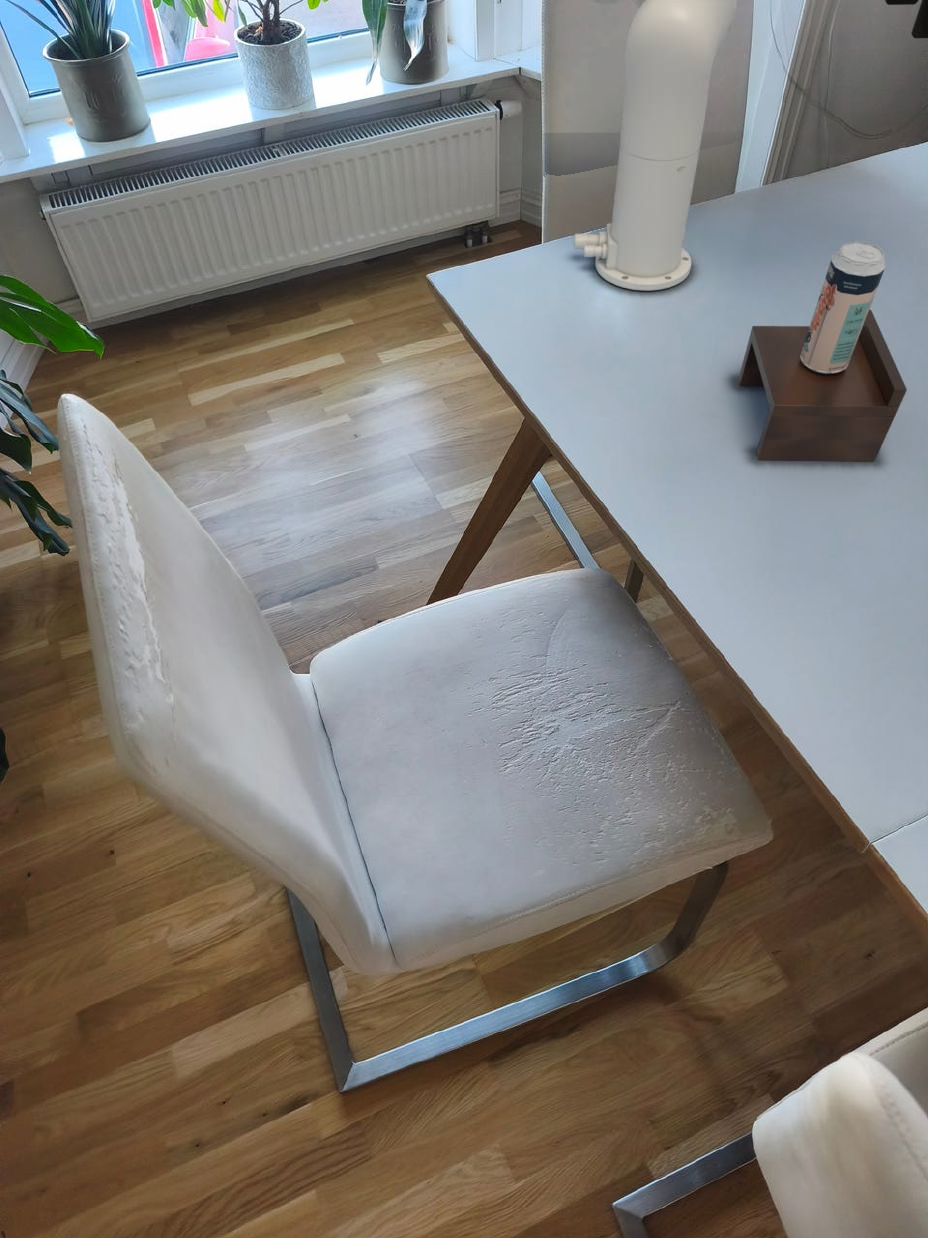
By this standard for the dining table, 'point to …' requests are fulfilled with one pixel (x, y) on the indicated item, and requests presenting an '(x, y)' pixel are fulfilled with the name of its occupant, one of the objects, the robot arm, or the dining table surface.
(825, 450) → the shelf
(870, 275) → the beer can
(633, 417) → the dining table surface
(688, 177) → the robot arm
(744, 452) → the dining table surface
